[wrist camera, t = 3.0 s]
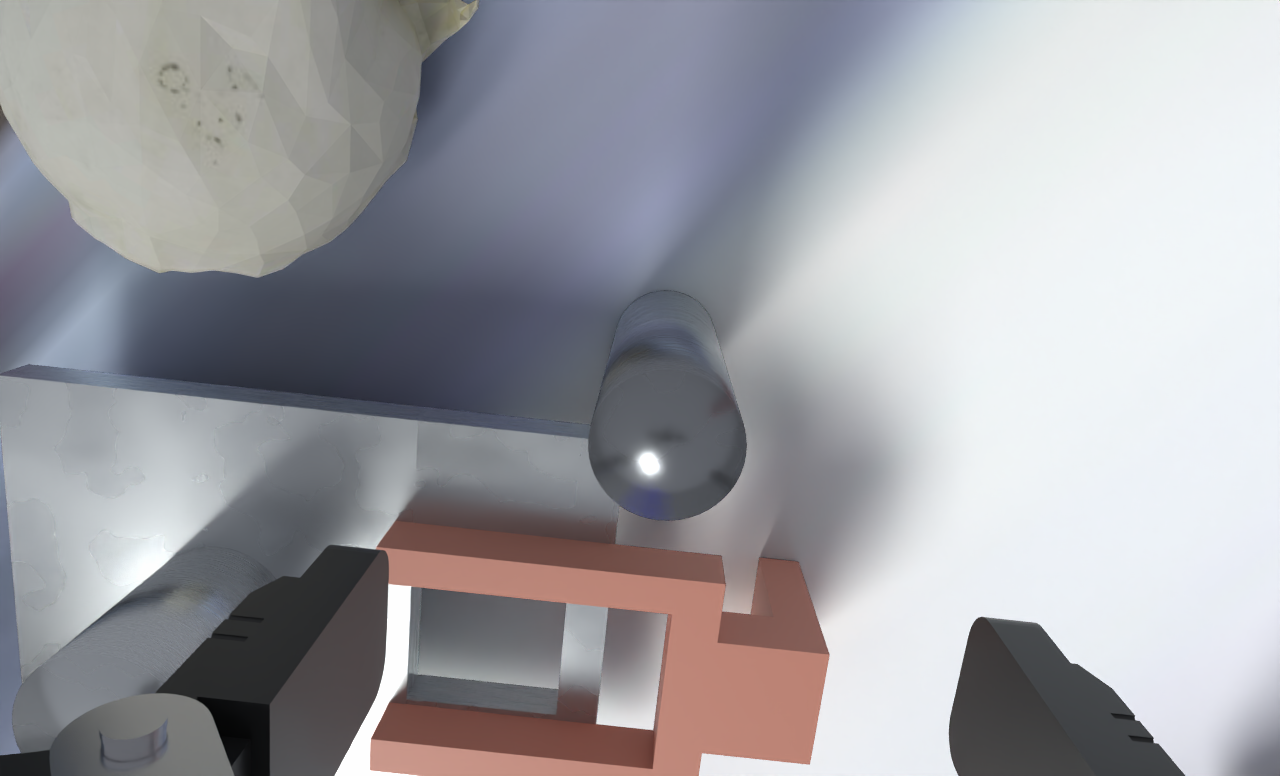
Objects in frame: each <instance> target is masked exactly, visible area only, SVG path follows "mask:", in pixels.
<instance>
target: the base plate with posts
mask: <svg viewBox="0 0 1280 776" xmlns="http://www.w3.org/2000/svg"><path fill="white" fill-rule="evenodd" d="M590 426H591V425H588V424H579V423H570V422H560V421H551V420H542V419H532V418H523V417H514V416H504V415H495V414H486V413H476V412H467V411H458V410H449V409H439V408H430V407H421V406H411V405H402V404H393V403H383V402H374V401H365V400H356V399H346V398H337V397H328V396H318V395H309V394H300V393H290V392H281V391H272V390H262V389H253V388H244V387H235V386H225V385H216V384H207V383H197V382H188V381H179V380H169V379H160V378H151V377H142V376H132V375H123V374H114V373H104V372H95V371H86V370H76V369H67V368H58V367H48V366H39V365H30V364H28V365H25V366H22V367H19V368H16V369H13V370H10V371H7V372H4V373H1V374H0V431H1V443H2V455H3V467H4V478H5V490H6V502H7V514H8V525H9V537H10V549H11V561H12V572H13V584H14V596H15V608H16V619H17V631H18V643H19V655H20V666H21V678H22V685H21V687H20V689H19V691H18V693H17V695H16V698H15V701H14V705H13V712H12V725H13V731H14V736H15V739H16V742H17V745H18V747H19V749H20V752H21V753H29V752H38V751H45V750H50V748H51V746H52V743H53V741H54V740H55V738H56V737H57V735H58V734H59V733H60V732H61V731H62V730H63V729H64V728H65V727H66V726H67V725H68V724H69V723H71V722H72V721H73V720H75V719H76V718H78V717H79V716H81V715H83V714H84V713H86V712H88V711H90V710H92V709H94V708H96V707H98V706H101V705H103V704H106V703H109V702H111V701H115V700H118V699H122V698H126V697H131V696H136V695H143V694H154V693H155V692H156V691H157V690H158V689H159V688H160V687H161V686H162V685H163V684H164V683H165V682H166V681H167V680H168V679H169V678H170V676H171V675H172V674H173V673H174V672H175V671H176V670H177V669H178V668H179V667H180V666H181V665H182V664H183V663H184V662H185V661H186V660H187V659H188V658H189V657H190V655H191V654H192V653H193V652H194V651H195V650H196V649H197V648H198V647H199V646H200V645H201V644H202V643H203V642H204V641H205V640H206V639H207V638H211V636H212V632H213V631H214V630H215V629H216V628H217V627H218V626H219V625H220V624H221V623H222V622H223V621H224V620H225V619H229V614H230V613H231V612H232V611H233V610H234V609H235V608H236V607H237V606H238V605H239V604H240V603H241V602H242V601H243V600H244V599H245V598H246V597H247V596H248V594H249V593H251V592H253V591H255V590H257V589H259V588H261V587H263V586H264V585H266V584H268V583H270V582H272V581H274V580H276V579H278V578H280V577H282V576H289V577H299V578H300V577H301V576H302V575H303V574H304V572H305V571H306V570H307V569H308V568H309V567H310V566H311V564H312V563H313V562H314V561H315V560H316V559H317V557H318V556H319V555H320V554H321V553H322V552H323V551H324V549H325V548H326V547H327V546H329V545H341V546H350V547H359V548H368V549H376V547H377V545H378V544H379V542H380V541H381V540H382V538H383V537H384V536H385V534H386V533H387V532H388V530H389V529H390V527H391V526H392V525H393V523H394V522H395V521H402V522H412V523H421V524H430V525H440V526H449V527H458V528H468V529H477V530H486V531H496V532H505V533H514V534H524V535H533V536H542V537H552V538H561V539H570V540H580V541H589V542H598V543H608V544H615V542H616V532H617V523H618V513H619V505H618V504H617V503H616V502H615V501H613V500H612V499H611V498H610V497H609V496H608V495H607V494H606V492H605V491H604V490H603V488H602V487H601V486H600V484H599V483H598V481H597V479H596V477H595V475H594V473H593V470H592V468H591V464H590V460H589V453H588V437H589V431H590ZM421 597H422V588H420V587H411V586H401V585H392V584H389V586H388V614H387V642H386V659H385V667H384V672H383V677H382V681H381V685H380V689H379V692H378V695H377V697H376V700H375V702H374V704H373V706H372V707H371V709H370V711H369V713H368V715H367V717H366V719H365V721H364V722H363V724H362V726H361V728H360V730H359V732H358V734H357V736H356V737H355V739H354V741H353V743H352V745H351V747H350V749H349V751H348V752H347V754H346V756H345V758H344V760H343V762H342V764H341V766H340V767H339V769H338V771H337V773H336V775H335V776H415V775H405V774H396V773H386V772H377V771H369V766H370V739H371V737H372V735H373V733H374V731H375V729H376V727H377V725H378V723H379V721H380V719H381V717H382V715H383V713H384V711H385V709H386V707H387V705H388V703H389V702H391V703H401V704H410V705H420V706H429V707H438V708H448V709H457V710H466V711H476V712H485V713H495V714H504V715H513V716H523V717H532V718H542V719H551V720H560V721H570V722H579V723H588V724H596V721H597V712H598V702H599V693H600V683H601V674H602V665H603V655H604V646H605V636H606V627H607V617H608V608H607V607H598V606H588V605H579V604H570V603H566V613H565V624H564V635H563V646H562V656H561V667H560V678H559V689H550V688H541V687H532V686H522V685H513V684H504V683H494V682H485V681H476V680H466V679H457V678H447V677H438V676H429V675H419V674H418V663H419V641H420V619H421Z"/></svg>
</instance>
